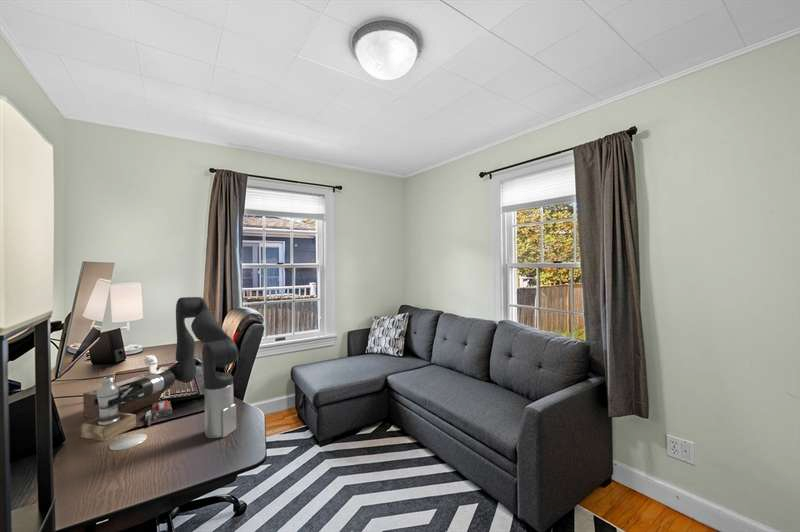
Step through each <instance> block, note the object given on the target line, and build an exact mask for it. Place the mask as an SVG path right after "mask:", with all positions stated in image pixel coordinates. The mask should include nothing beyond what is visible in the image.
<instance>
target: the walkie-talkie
mask: <svg viewBox="0 0 800 532" xmlns="http://www.w3.org/2000/svg"><path fill="white" fill-rule="evenodd" d="M171 414H173V407H172V403H171V400H169V401H168V399H164V400H160V401H158V402H155V403H153V404H151V406H150V409H149V410H148V411H146V412H145V416H144V417H145V419H144V420H145V421H146V420H147V421H146V425H147V426H148V427H150V426H151V420H156V419H159V418H163V417H169V416H172V415H171ZM168 415H169V416H168Z"/></svg>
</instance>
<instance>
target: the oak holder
mask: <svg viewBox="0 0 800 532" xmlns="http://www.w3.org/2000/svg"><path fill="white" fill-rule="evenodd" d="M119 416H120V421H118V422H115V423H113V424H111V425H109V426H106V427H103V426H98V421H99V417H98V418H96V419H91V420H89V421H86V422H84V423H81V424H80V437H81V438H85V439H92V440H97V441H103V442H106V441H108V440H110V439H112V438H114V437H117V436H119V435H121V434H123V433H126V432H128V431H129V430H132V429H134V428H135V426H136V427H137V414H134V413H120V412H119ZM133 427H134V428H133Z"/></svg>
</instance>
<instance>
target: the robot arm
mask: <svg viewBox="0 0 800 532" xmlns="http://www.w3.org/2000/svg"><path fill="white" fill-rule="evenodd" d="M189 318H190V319H191V318H194V319H193V320H192V322H191V325H190V327H191V332H192V333H193V335H194V336H195V338H196V339H197V340H198V341H200V342H202V343H204V344H203V346H202V350H201V351H202V352H201V356H202V357H201V358H202V364H203V365H202V367H203V369H202V370H203V385H204V386H203V388H204V432H205V433H204V435H205V437H206V438H208V439H219V438H225V437H227V436H228V435H229V434H231V433H233V432H235V431H236V430H237V404H236V403H234V402H235V401H234V376H233V375H232V374H231V373H228V372H219V371H217V370H216V368H218V367H223V366H229V365H231V364H233V363H235V362H236V361H237V360H238V357H239V349H238V346H237V344H236V343H235V341H234V339H232V337H230V336H229V334H227V333H226V332H225V331H224V330H223V328H222V327H221V325H220V323H219V321H218V320H217V319H216V318H215V316H213V314H212V312H211V311H210V308H209V307H208V304H207V302H206V300H205V299H204V298H203V297H202V296H201V297H199V296H187V297H185V296H183V297H179V298H178V299H177V300H176V305H175V326H176V327H175V328H176V329H175V330H176V349H175V350H176V351H175V361H176V362H177V363H178V364H174V365H172V366H171V367H169V368H168V369H165V371H163V372H162V371H161V372H162V373H159V374H156V375H151V376H148V377H145V378H142V379H139V380H136V381H134V382H132V383H131V385H130V386H129V388H128V387H126V388H123V389H120V388H119V389H120V392H119V397H117V398H115V399H112V400H109V401H108V407H111V406H114V405H116V404H119V403H124V402H126V403H129V402H132V401H135V400H139V399H142V398H144V397H147V396H149V395H152V394H154V393H156V392H158V391H160V390H163V389H165V388H168V387H170V386H171V387H172V386H174V384H175V382H176V381H179V382H181V383H185V384H188V383H191V382H192V381H193V380H194V379H195V377H196V374H197V365H196V360H195V349H196V347H195V346H196V342H195V339H194V337H193V336H192V334H191V333H190V331H189V329H188V328H187V326H186V322H185V320H186V319H189ZM98 404H99V403H98V398H96V399H94V405H98Z"/></svg>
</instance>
